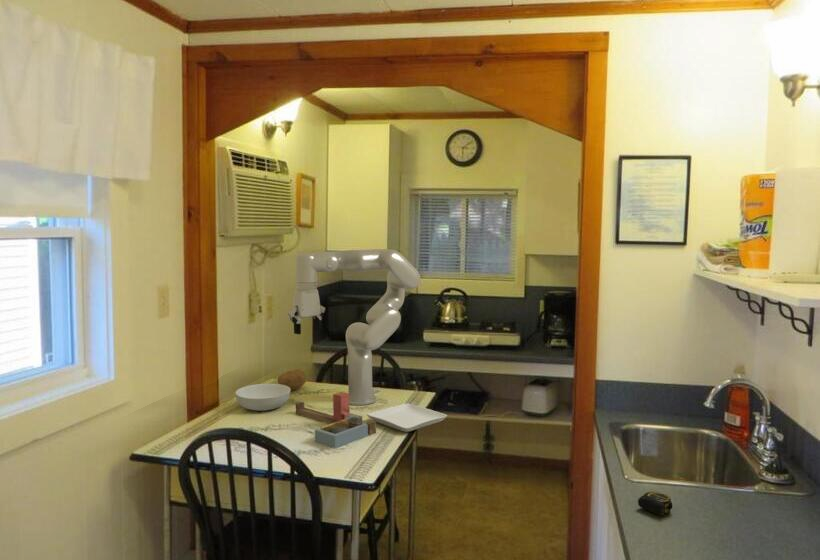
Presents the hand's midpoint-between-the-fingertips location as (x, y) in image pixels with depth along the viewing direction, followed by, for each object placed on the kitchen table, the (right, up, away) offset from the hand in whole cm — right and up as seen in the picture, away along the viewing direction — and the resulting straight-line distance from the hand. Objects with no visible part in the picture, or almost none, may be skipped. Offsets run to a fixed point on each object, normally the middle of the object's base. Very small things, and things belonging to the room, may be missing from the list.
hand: (307, 332), depth 239 cm
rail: (+11, -32, -12) cm, 35 cm away
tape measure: (+99, -38, -81) cm, 134 cm away
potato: (-12, -28, +34) cm, 45 cm away
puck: (+15, -33, -28) cm, 46 cm away
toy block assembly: (+13, -32, -21) cm, 41 cm away
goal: (+16, -33, -28) cm, 46 cm away
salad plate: (+37, -32, -11) cm, 50 cm away
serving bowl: (-18, -30, +8) cm, 36 cm away
